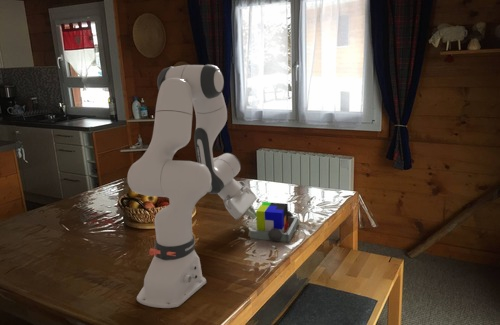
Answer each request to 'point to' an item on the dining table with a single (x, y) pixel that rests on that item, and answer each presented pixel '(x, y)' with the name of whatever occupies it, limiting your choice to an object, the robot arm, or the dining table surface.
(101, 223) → the dining table surface
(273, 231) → the tray
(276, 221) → the puzzle toy
